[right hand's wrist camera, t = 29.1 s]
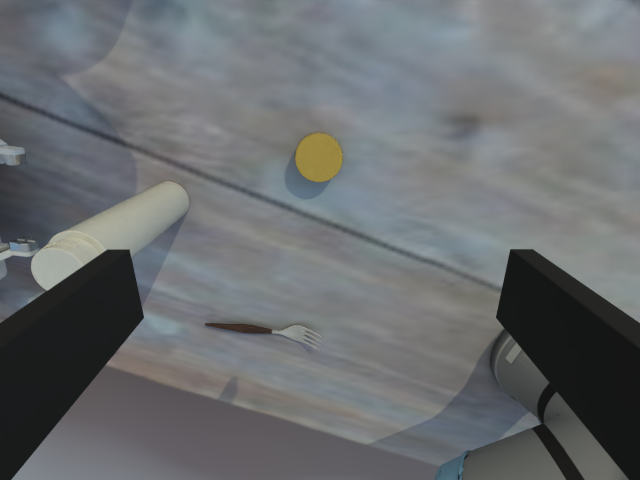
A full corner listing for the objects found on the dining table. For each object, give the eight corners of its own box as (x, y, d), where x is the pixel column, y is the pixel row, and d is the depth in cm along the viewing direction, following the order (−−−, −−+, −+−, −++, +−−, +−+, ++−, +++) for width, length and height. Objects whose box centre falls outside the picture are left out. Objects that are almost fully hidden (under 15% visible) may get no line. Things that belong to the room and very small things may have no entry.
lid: (346, 137, 40) (348, 139, 37) (336, 182, 42) (337, 187, 39) (300, 127, 39) (299, 128, 37) (292, 173, 41) (290, 177, 39)
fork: (206, 313, 48) (201, 322, 46) (323, 327, 49) (323, 336, 47) (206, 329, 49) (201, 338, 47) (320, 342, 50) (320, 352, 48)
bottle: (143, 201, 42) (11, 275, 24) (164, 172, 41) (42, 228, 23) (175, 226, 43) (73, 314, 25) (197, 198, 42) (105, 270, 24)
